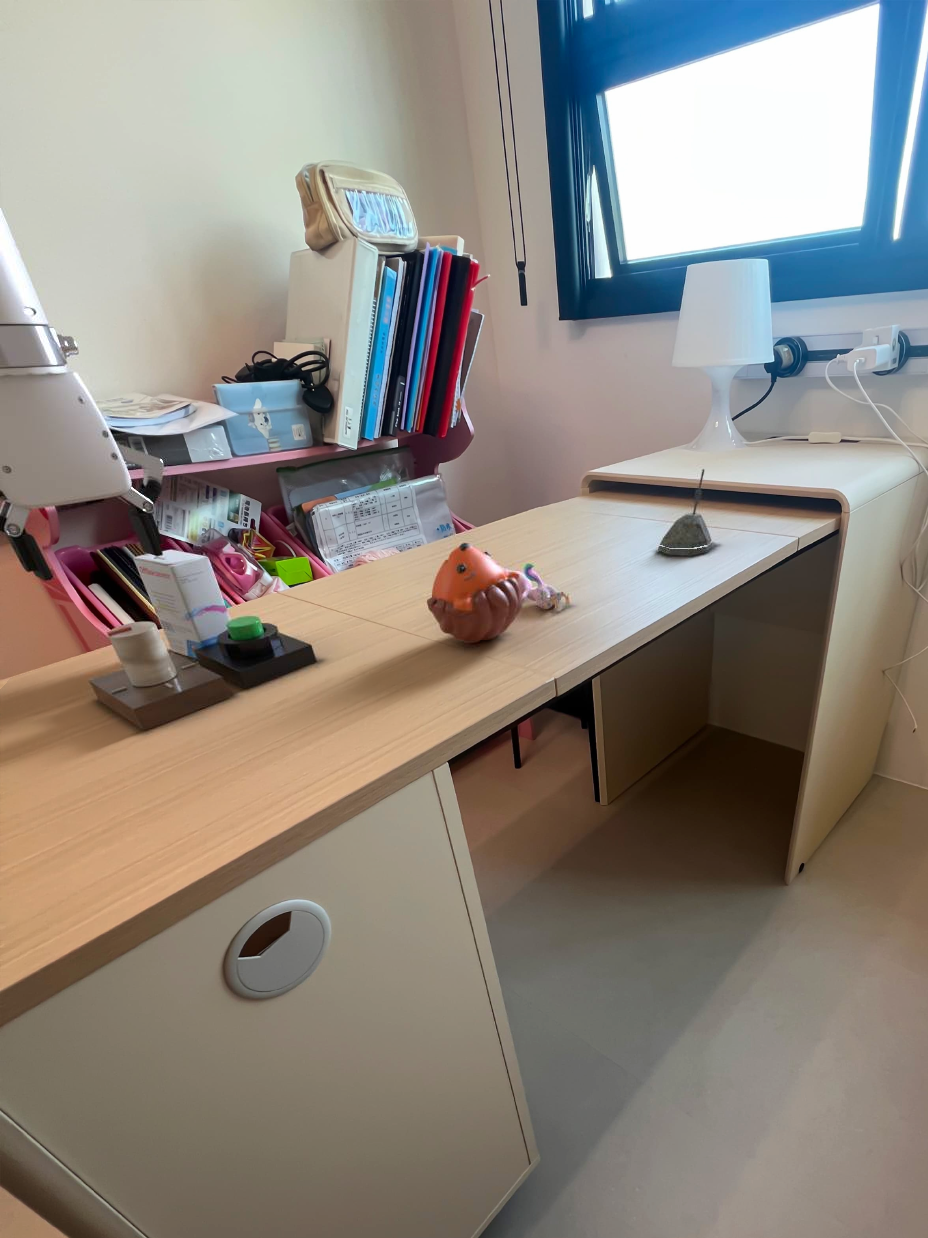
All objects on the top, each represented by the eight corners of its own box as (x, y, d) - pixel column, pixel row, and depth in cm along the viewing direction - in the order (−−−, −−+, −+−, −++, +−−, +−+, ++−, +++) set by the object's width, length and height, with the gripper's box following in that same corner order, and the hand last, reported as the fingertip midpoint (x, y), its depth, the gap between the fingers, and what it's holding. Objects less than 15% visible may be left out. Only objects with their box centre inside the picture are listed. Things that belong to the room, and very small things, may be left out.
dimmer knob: (166, 666, 73) (143, 615, 69) (184, 675, 70) (161, 623, 67) (124, 680, 70) (98, 628, 66) (142, 690, 68) (116, 637, 64)
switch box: (200, 666, 78) (187, 635, 76) (269, 642, 84) (259, 612, 82) (245, 689, 73) (232, 656, 70) (317, 661, 78) (307, 629, 76)
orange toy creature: (477, 616, 89) (464, 529, 82) (541, 627, 85) (533, 535, 78) (419, 648, 81) (399, 553, 74) (487, 661, 76) (472, 562, 70)
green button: (225, 637, 76) (220, 622, 75) (254, 627, 78) (249, 613, 77) (241, 643, 74) (235, 628, 73) (270, 633, 76) (265, 619, 75)
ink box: (245, 649, 82) (209, 553, 76) (208, 663, 79) (167, 565, 72) (207, 638, 86) (169, 546, 80) (170, 651, 83) (128, 556, 76)
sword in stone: (687, 559, 107) (691, 480, 100) (651, 551, 112) (652, 475, 105) (724, 546, 113) (729, 470, 106) (688, 539, 117) (691, 466, 110)
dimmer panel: (99, 700, 72) (87, 678, 70) (181, 671, 77) (172, 650, 76) (144, 731, 66) (132, 707, 64) (230, 697, 71) (221, 675, 70)
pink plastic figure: (575, 611, 93) (498, 579, 99) (579, 571, 89) (498, 539, 95) (548, 625, 89) (468, 590, 95) (550, 583, 85) (467, 550, 91)
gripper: (103, 351, 61) (175, 540, 71) (-143, 357, 50) (-17, 580, 60) (136, 350, 57) (208, 551, 67) (-123, 357, 46) (8, 596, 56)
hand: (101, 565), depth 63 cm, fingers open, 9 cm apart
